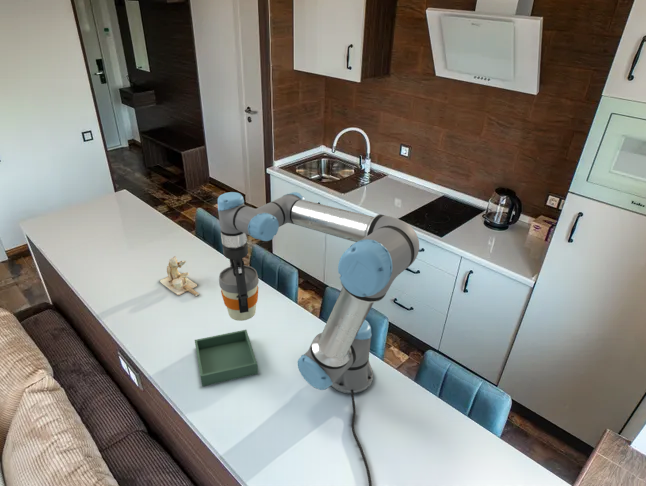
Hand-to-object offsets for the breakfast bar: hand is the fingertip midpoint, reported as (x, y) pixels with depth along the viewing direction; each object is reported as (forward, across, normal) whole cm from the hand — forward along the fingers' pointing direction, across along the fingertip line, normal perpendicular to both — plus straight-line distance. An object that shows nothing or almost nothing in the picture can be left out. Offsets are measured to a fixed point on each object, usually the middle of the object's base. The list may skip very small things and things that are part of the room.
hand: (240, 300), depth 149 cm
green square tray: (+23, -3, +8) cm, 24 cm away
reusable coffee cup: (+5, 0, 0) cm, 5 cm away
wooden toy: (+23, +49, +20) cm, 57 cm away
